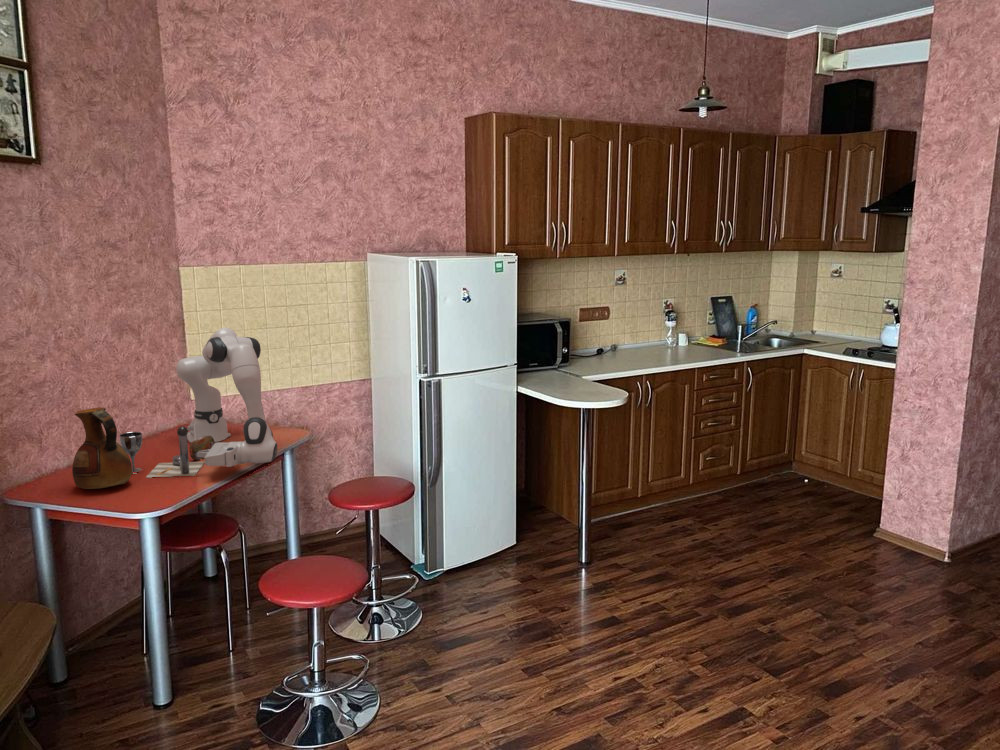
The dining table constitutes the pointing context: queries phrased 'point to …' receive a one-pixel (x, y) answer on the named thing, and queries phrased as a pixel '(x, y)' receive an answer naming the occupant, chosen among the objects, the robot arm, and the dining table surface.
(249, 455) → the robot arm
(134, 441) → the silver goblet
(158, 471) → the beige square panel
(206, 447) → the tin
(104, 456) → the ceramic pitcher
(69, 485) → the dining table surface
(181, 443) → the lever
